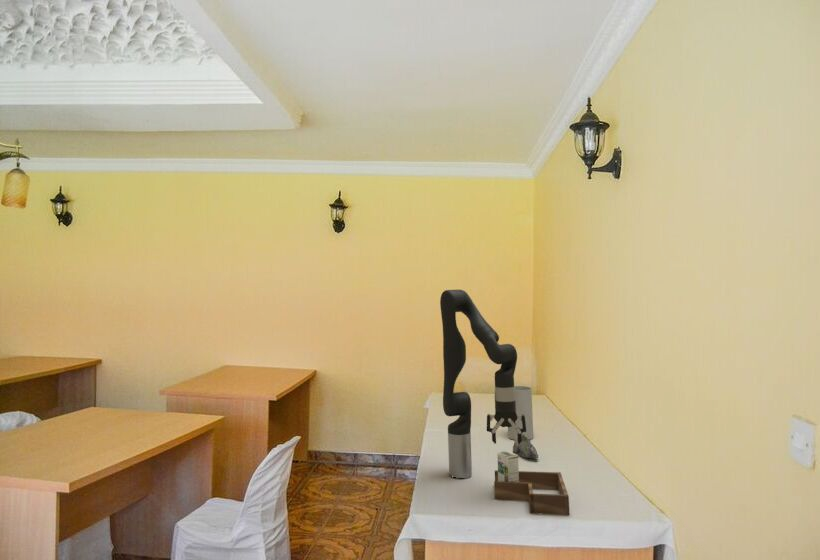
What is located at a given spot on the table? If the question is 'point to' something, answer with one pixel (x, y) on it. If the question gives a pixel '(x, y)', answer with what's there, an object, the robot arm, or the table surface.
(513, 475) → the syrup box
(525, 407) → the cylinder vase
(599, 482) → the table surface
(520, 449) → the mineral rock
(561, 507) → the walnut corridor
